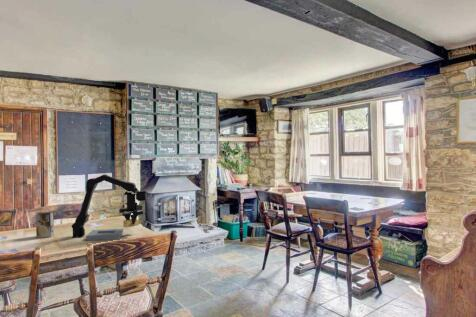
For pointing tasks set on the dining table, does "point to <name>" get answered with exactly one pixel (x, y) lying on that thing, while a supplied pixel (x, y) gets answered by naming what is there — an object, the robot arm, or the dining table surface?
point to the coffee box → (44, 224)
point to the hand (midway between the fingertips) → (131, 223)
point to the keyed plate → (104, 234)
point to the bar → (130, 223)
